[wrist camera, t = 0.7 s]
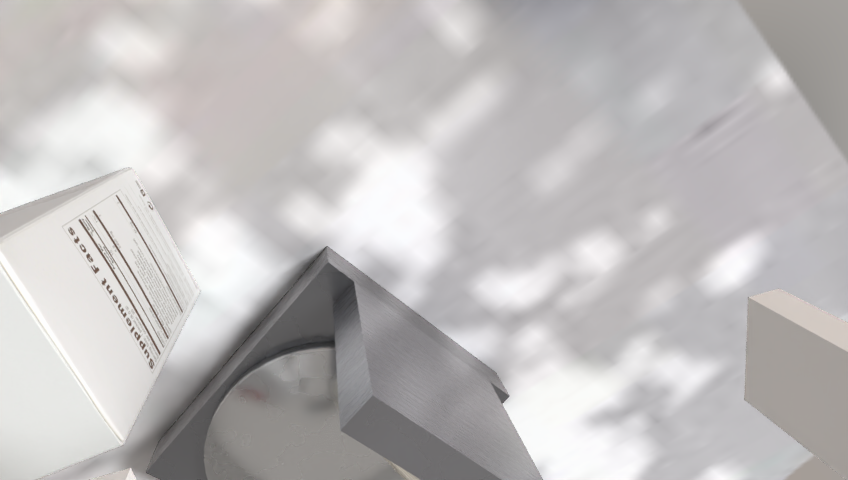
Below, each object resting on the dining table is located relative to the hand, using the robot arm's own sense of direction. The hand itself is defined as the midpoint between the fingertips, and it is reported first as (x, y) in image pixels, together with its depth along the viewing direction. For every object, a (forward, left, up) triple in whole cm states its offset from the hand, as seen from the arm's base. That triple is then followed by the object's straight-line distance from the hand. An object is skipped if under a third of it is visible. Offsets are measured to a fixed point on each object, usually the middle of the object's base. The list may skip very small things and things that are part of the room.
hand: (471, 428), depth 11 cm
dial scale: (+9, -14, -24) cm, 29 cm away
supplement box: (-9, -14, -25) cm, 30 cm away
